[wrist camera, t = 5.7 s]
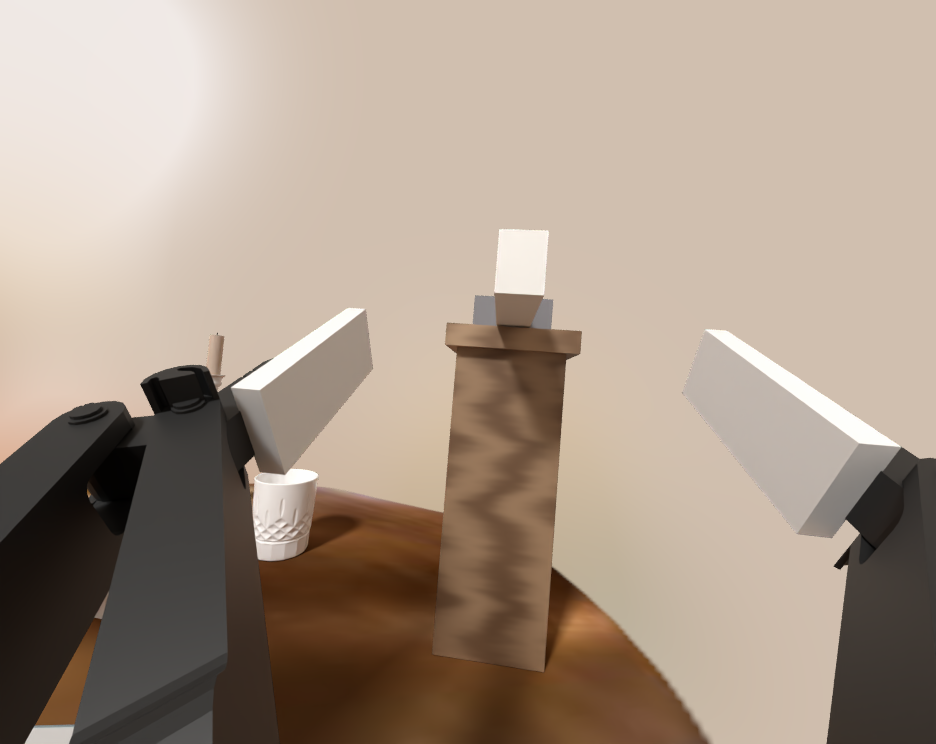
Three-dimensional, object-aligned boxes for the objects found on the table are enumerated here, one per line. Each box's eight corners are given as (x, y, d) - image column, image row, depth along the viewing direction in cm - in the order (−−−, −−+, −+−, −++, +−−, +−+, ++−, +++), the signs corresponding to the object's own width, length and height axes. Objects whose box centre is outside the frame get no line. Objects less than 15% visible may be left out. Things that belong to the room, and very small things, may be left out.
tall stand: (418, 661, 30) (447, 321, 32) (444, 575, 44) (463, 342, 46) (557, 683, 29) (581, 330, 30) (539, 588, 43) (556, 348, 44)
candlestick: (161, 535, 49) (185, 324, 50) (133, 511, 56) (155, 326, 57) (257, 512, 59) (275, 338, 61) (224, 494, 66) (240, 338, 68)
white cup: (234, 551, 46) (242, 475, 47) (289, 532, 53) (296, 466, 53) (268, 571, 42) (277, 488, 43) (323, 547, 49) (330, 476, 49)
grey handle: (445, 290, 22) (452, 211, 22) (476, 346, 48) (479, 311, 49) (595, 298, 21) (600, 216, 21) (541, 351, 47) (544, 315, 48)
